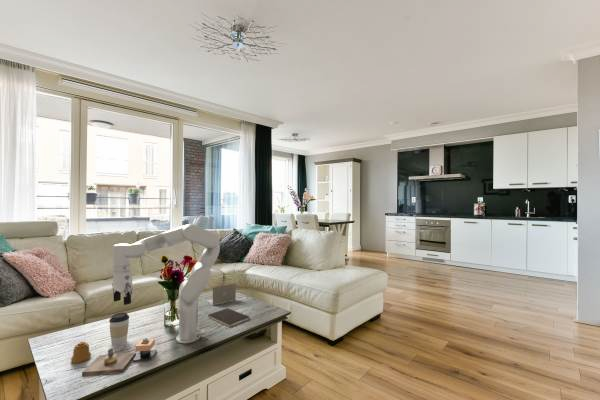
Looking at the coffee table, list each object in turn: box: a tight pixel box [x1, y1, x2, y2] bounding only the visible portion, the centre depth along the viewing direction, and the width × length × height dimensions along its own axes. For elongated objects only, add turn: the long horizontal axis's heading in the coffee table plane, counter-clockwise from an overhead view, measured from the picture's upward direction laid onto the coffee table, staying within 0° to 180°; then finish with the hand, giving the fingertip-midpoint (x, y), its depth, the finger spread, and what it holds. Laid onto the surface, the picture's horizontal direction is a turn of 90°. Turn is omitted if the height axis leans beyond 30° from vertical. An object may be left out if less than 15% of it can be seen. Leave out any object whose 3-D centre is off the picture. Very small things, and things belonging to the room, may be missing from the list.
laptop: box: [206, 283, 237, 306], centre depth 218 cm, size 18×12×13 cm
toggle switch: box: [81, 347, 137, 377], centre depth 131 cm, size 16×14×8 cm
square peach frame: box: [134, 338, 156, 352], centre depth 138 cm, size 6×6×2 cm
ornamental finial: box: [70, 341, 92, 364], centre depth 135 cm, size 8×8×8 cm
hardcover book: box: [207, 307, 251, 328], centre depth 184 cm, size 16×23×2 cm
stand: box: [132, 337, 158, 363], centre depth 138 cm, size 8×8×8 cm
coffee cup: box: [109, 312, 130, 347], centre depth 152 cm, size 9×9×15 cm
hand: (122, 302), depth 144 cm, fingers open, 9 cm apart
